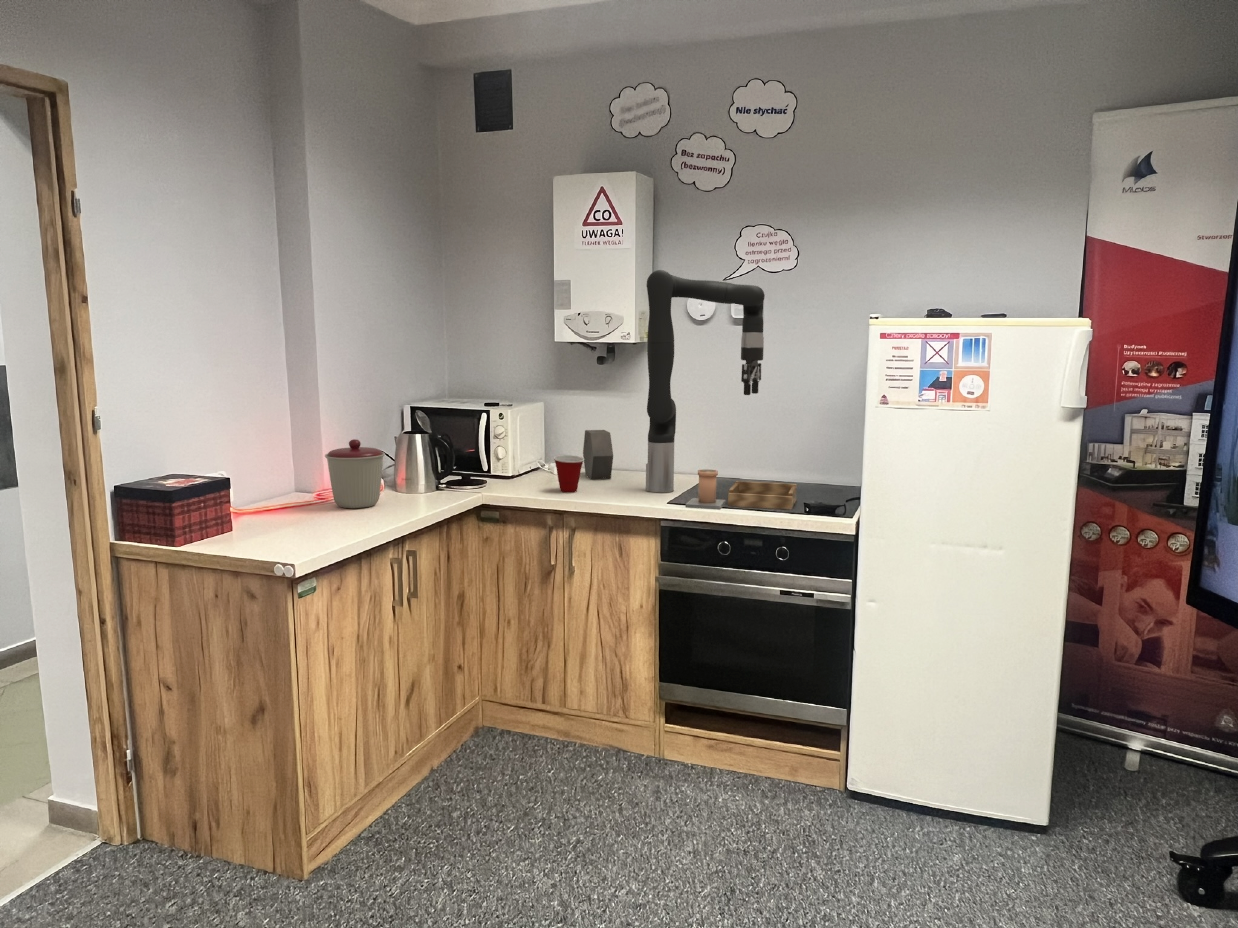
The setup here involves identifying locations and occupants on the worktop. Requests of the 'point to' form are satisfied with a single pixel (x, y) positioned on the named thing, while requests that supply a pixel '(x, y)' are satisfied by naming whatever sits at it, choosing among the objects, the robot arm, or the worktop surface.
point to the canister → (355, 475)
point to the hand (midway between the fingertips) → (751, 394)
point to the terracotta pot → (707, 486)
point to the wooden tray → (762, 495)
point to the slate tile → (705, 504)
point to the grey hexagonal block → (598, 454)
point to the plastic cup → (568, 471)
